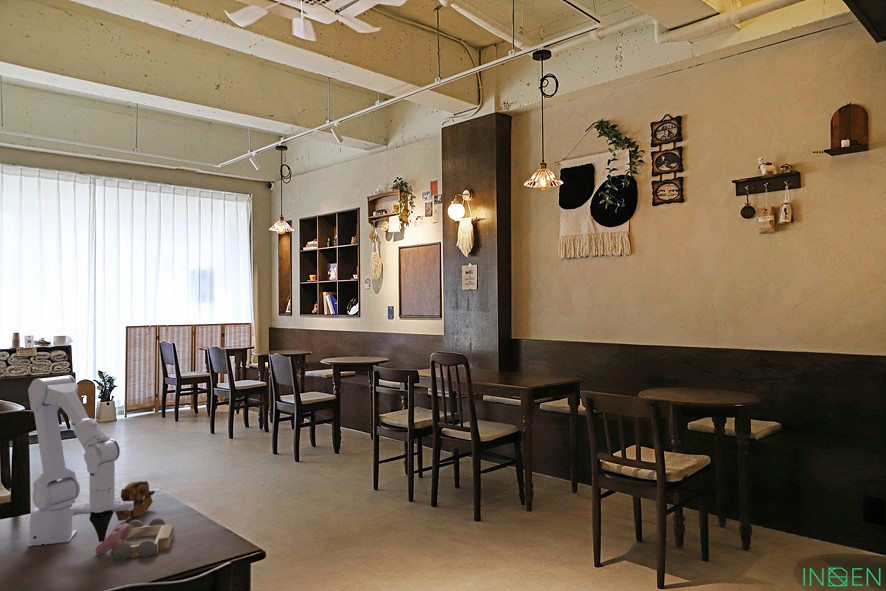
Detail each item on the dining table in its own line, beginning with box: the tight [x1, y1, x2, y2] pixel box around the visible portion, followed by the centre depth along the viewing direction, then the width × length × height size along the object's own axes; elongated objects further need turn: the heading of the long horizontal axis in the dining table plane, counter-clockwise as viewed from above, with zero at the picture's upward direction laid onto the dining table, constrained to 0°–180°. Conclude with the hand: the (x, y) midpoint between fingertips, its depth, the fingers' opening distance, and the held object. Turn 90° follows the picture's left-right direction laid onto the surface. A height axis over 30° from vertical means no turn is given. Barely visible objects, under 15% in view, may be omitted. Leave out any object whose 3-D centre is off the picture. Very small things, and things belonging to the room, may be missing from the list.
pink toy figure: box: [95, 522, 133, 555], centre depth 159 cm, size 10×5×7 cm, turn 3°
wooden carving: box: [114, 480, 156, 522], centre depth 183 cm, size 16×5×10 cm, turn 178°
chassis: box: [112, 517, 175, 561], centre depth 161 cm, size 12×18×4 cm
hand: (102, 540), depth 158 cm, fingers closed
